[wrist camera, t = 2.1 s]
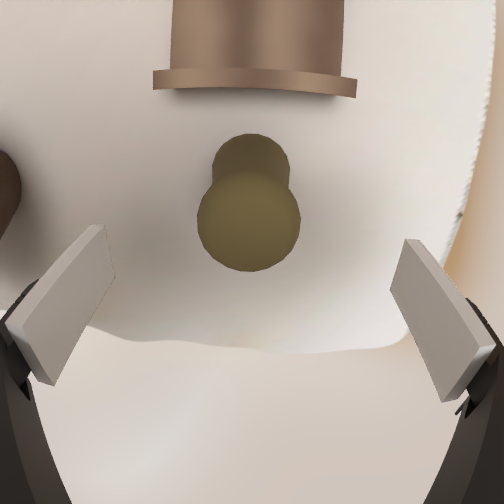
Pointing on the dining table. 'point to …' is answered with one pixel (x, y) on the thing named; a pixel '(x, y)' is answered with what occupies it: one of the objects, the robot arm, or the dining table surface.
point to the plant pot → (8, 191)
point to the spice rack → (257, 46)
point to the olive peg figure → (249, 205)
